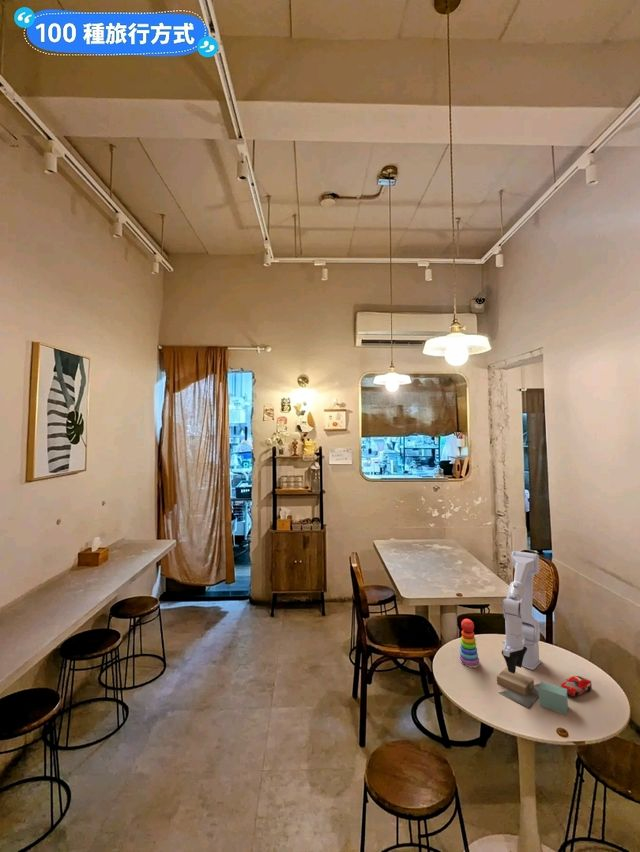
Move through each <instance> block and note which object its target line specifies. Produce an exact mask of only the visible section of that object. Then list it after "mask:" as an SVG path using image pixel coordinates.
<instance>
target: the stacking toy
mask: <svg viewBox="0 0 640 852" xmlns="http://www.w3.org/2000/svg"><path fill="white" fill-rule="evenodd" d="M460 625H461V626H460V627H461V629H462V630H461V632H460V633H461V640H460V646H459V648H460V649H459V661H460V660H461V661H462V663H463V664H465V665H466V666H465V665H464V666H465V667H467V666H469V667H468V668H472V667H474V668H477V666H478V667H479V666H480V657H479V654H478V648H477V642H476V641H477V640H476V638H475V637H476V636H475V632H474V629H475V624H474V622H473V621H472V620H471V619H469V618H464V619H462V621H461V624H460ZM461 661H460V662H461ZM462 663H461V664H462ZM463 664H462V665H463Z"/></svg>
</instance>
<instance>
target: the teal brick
mask: <svg viewBox="0 0 640 852" xmlns="http://www.w3.org/2000/svg"><path fill="white" fill-rule="evenodd" d="M539 684H540V686H539V697H538V702H539V703H538V705H539V706H540V707H543V708H546V709H548V710H552V711H555V712H557V713H560V714H564V715H567V713H568V705H569V704H568V703H569V701H568V694H567V689H565V688H562V687H561V686H558V685H555V684H552V683H549V682H546V681H542V680H540V683H539Z"/></svg>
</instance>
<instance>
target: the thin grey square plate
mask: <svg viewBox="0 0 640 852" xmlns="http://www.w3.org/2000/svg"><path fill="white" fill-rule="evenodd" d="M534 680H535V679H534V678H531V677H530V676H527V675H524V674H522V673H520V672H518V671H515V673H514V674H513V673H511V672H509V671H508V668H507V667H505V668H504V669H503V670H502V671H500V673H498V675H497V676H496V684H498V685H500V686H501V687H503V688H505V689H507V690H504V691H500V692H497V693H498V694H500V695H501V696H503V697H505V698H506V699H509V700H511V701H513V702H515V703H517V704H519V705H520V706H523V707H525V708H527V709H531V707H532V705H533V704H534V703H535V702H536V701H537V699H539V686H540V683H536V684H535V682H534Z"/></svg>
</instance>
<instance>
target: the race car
mask: <svg viewBox="0 0 640 852" xmlns="http://www.w3.org/2000/svg"><path fill="white" fill-rule="evenodd" d="M592 685H593V684H592V681H591V680H590V679H588V678H586V677H584V676H581V675H574V676H571V677H570V678H566V681H563V682H562V683H561V685H560V687H562V688H565V689H567V695H569V696H571V697H575V698H577V697H578V696H580V695H582V694H585V693H587V692H588V693H590V692H591V690H592V688H593V687H592Z"/></svg>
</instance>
